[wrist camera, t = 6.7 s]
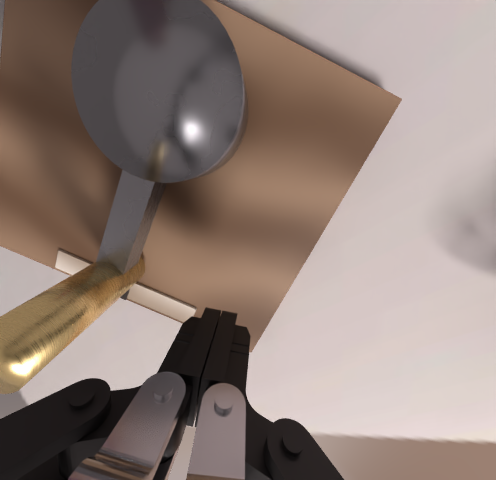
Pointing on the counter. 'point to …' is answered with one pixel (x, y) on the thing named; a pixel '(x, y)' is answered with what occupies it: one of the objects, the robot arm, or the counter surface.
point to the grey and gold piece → (134, 152)
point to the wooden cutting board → (189, 191)
